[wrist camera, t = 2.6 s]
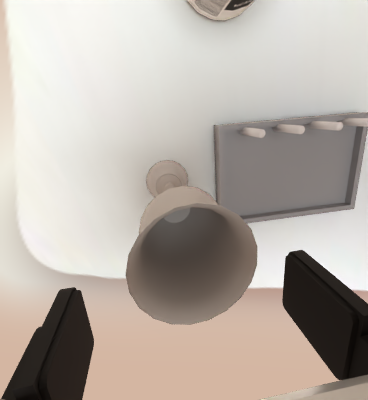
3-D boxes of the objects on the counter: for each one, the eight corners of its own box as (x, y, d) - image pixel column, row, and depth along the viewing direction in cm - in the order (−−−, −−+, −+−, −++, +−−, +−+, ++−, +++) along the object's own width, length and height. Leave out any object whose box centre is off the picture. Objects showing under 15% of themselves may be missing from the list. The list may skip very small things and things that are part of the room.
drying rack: (356, 112, 30) (404, 111, 24) (342, 203, 34) (381, 221, 28) (213, 125, 28) (230, 127, 22) (217, 220, 32) (232, 242, 26)
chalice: (148, 142, 28) (150, 184, 11) (203, 161, 29) (280, 223, 12) (131, 201, 30) (109, 314, 13) (183, 215, 31) (226, 333, 14)
